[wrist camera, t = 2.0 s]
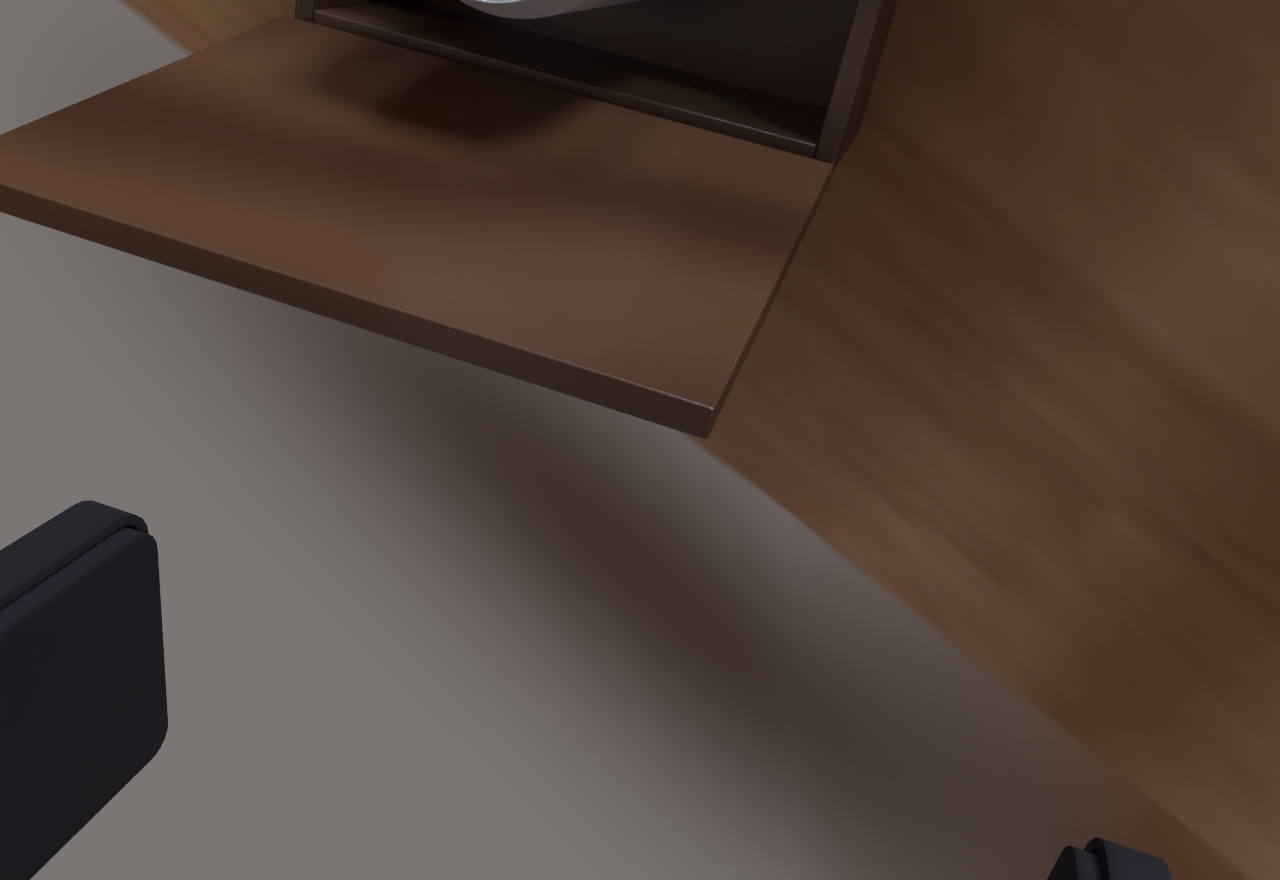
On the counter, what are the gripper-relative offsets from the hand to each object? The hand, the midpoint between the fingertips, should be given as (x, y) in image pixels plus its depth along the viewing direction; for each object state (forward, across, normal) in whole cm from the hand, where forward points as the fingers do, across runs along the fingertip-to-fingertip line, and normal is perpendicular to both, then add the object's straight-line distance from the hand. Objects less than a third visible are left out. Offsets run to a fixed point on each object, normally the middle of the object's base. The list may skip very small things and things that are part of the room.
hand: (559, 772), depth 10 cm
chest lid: (+15, +8, -1) cm, 17 cm away
